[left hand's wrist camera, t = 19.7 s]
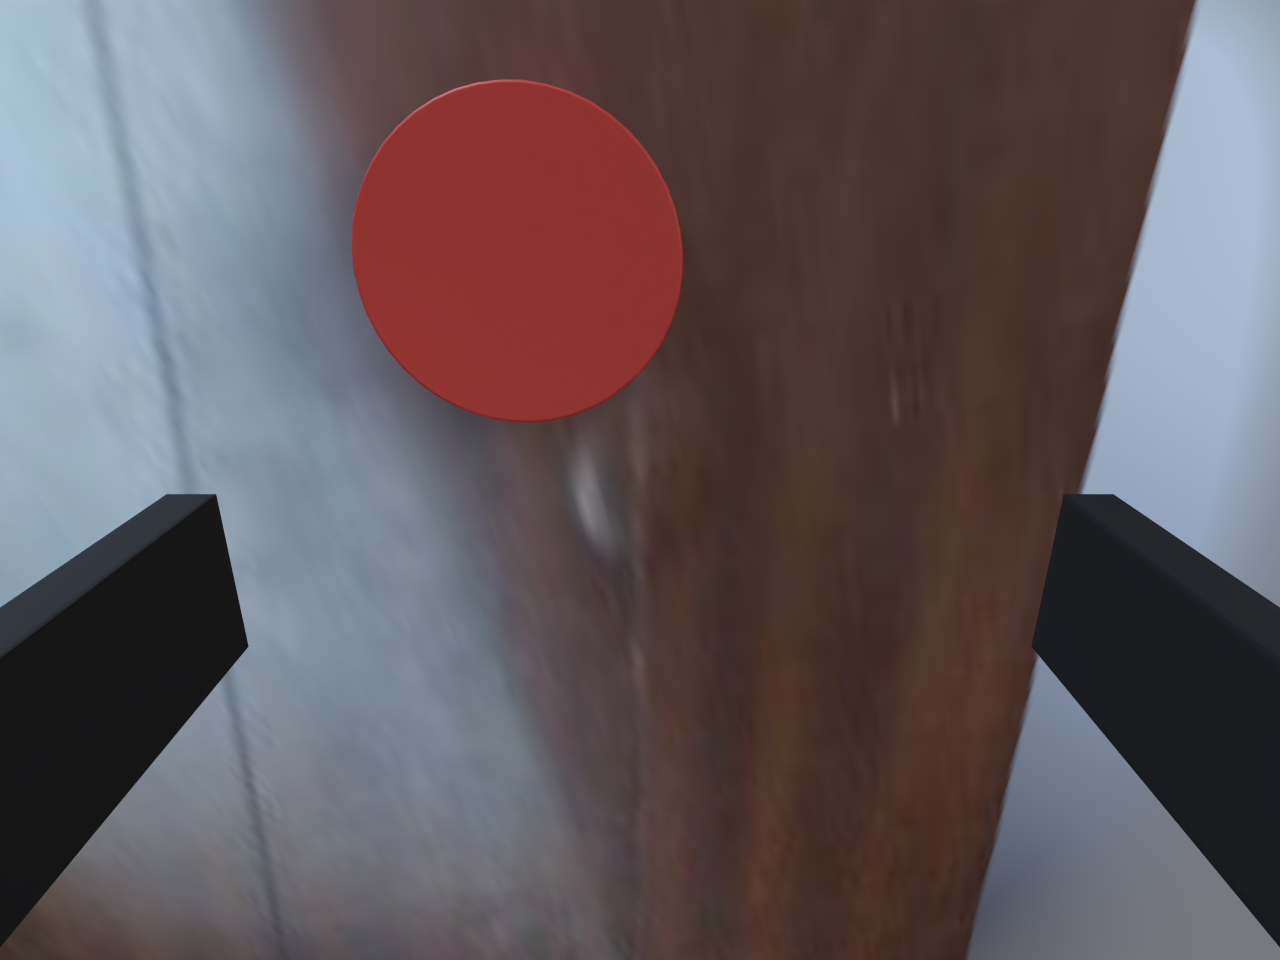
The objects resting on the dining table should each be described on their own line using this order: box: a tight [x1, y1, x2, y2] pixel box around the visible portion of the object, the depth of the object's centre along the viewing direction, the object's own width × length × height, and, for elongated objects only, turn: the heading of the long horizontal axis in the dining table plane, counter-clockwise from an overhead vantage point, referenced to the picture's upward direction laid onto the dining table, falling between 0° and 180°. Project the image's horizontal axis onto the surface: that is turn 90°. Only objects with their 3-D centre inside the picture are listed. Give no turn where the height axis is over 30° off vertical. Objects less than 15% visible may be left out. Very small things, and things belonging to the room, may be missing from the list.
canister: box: [352, 79, 683, 422], centre depth 25 cm, size 9×9×7 cm
